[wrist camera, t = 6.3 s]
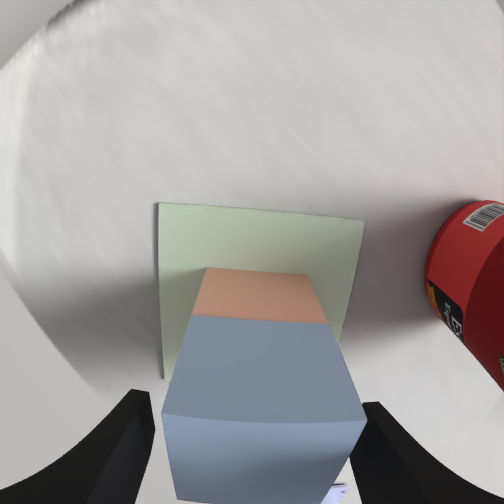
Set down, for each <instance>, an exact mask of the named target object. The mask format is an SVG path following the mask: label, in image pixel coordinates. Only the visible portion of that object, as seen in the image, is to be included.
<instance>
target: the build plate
mask: <svg viewBox="0 0 504 504" xmlns="http://www.w3.org/2000/svg"><path fill="white" fill-rule="evenodd" d="M364 225H365V221H363V220H355V219H347V218H338V217H329V216H320V215H311V214H301V213H291V212H281V211H270V210H259V209H248V208H236V207H223V206H210V205H196V204H181V203H164V202H160V203H159V217H158V267H159V302H160V323H161V340H162V354H163V366H164V377H165V382H167V383H170V381H171V378H172V374H173V371H174V368H175V365H176V361H177V358H178V355H179V352H180V348H181V345H182V342H183V339H184V336H185V332H186V329H187V326H188V323H189V320H190V317H191V314H192V312H193V309H194V306H195V303H196V300H197V297H198V294H199V291H200V287H201V284H202V281H203V278H204V275H205V272H206V269H207V267H214V268H226V269H238V270H250V271H262V272H275V273H288V274H302V275H308V276H309V279H310V281H311V283H312V286H313V288H314V291H315V293H316V295H317V298H318V300H319V302H320V305H321V307H322V309H323V312H324V314H325V317H326V319H327V322H328V324H330V326H331V329H332V331H333V334H334V336H335V339H336V341H337V343H339V339H340V335H341V331H342V328H343V324H344V320H345V316H346V312H347V307H348V303H349V299H350V295H351V290H352V286H353V281H354V277H355V272H356V267H357V262H358V258H359V252H360V247H361V242H362V237H363V231H364Z"/></svg>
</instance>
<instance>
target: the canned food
mask: <svg viewBox="0 0 504 504" xmlns="http://www.w3.org/2000/svg"><path fill="white" fill-rule="evenodd" d="M425 288H426V292H427V295H428V298H429V301H430V303H431V306H432V308H433V310H434V311H435V313H436V314H437V316H438V317H439V318H440V319H441V320H442V321H443V322H444V323H445V324H446V325H447V326H448V327H449V329H450V330H451V331H452V332H453V333H454V334H455V335H456V336H457V337H458V338H459V340H460V341H461V342H462V343H463V344H464V345H465V346H466V347H467V349H468V350H469V351H470V352H471V353H472V354H473V355H474V357H475V358H476V359H477V360H478V361H479V362H480V364H481V365H482V366H483V367H484V368H485V370H486V371H487V372H488V373H489V374H490V375H491V377H492V378H493V379H494V380H495V382H496V383H497V384H498V385H499V386H500V388H501V389H502V390H503V391H504V204H502V203H499V202H496V201H490V200H485V201H478V202H473V203H469V204H467V205H465V206H463V207H461V208H460V209H458V210H457V211H456V212H455V213H453V214H452V215H451V216H450V217H449V218H448V220H447V221H446V222H445V223H444V224H443V226H442V227H441V229H440V230H439V232H438V233H437V235H436V237H435V239H434V241H433V243H432V245H431V248H430V251H429V254H428V257H427V262H426V267H425Z"/></svg>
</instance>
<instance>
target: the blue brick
mask: <svg viewBox="0 0 504 504" xmlns="http://www.w3.org/2000/svg"><path fill="white" fill-rule="evenodd" d="M161 416H162V422H163V429H164V435H165V441H166V447H167V452H168V458H169V463H170V468H171V473H172V478H173V482H174V488H175V492H176V496H177V500H184V501H193V502H201V503H210V504H321V503H322V501H323V499H324V498H325V496H326V495H327V493H328V491H329V490H330V488H331V487H332V485H333V483H334V482H335V480H336V478H337V477H338V475H339V473H340V471H341V470H342V468H343V466H344V464H345V463H346V461H347V459H348V457H349V455H350V453H351V452H352V450H353V448H354V446H355V444H356V442H357V440H358V438H359V436H360V434H361V432H362V430H363V428H364V426H365V424H366V422H367V417H366V415H365V412H364V409H363V407H362V404H361V401H360V399H359V396H358V394H357V391H356V389H355V386H354V383H353V381H352V378H351V376H350V373H349V371H348V368H347V366H346V363H345V361H344V358H343V356H342V353H341V351H340V348H339V346H338V343H337V341H336V339H335V336H334V334H333V331H332V329H331V326H330V324H320V323H297V322H279V321H263V320H249V319H236V318H224V317H212V316H202V315H192V314H191V317H190V320H189V323H188V326H187V329H186V332H185V336H184V339H183V342H182V345H181V348H180V352H179V355H178V358H177V361H176V365H175V368H174V371H173V374H172V378H171V381H170V384H169V388H168V391H167V395H166V398H165V401H164V405H163V408H162V412H161Z"/></svg>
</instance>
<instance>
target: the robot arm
mask: <svg viewBox="0 0 504 504" xmlns="http://www.w3.org/2000/svg"><path fill="white" fill-rule="evenodd" d="M362 407H363V409H364V412H365V415H366V417H367V422H366V424H365V426H364V428H363V430H362V432H361V434H360V436H359V438H358V440H357V442H356V444H355V446H354V448H353V450H352V452H351V453H350V455H349V457H350V463H351V466H352V470H353V473H354V477H355V480H356V484H357V487H358V491H359V494H360V498H361V501H362V504H504V498H502V497H499V496H497V495H494V494H492V493H489V492H487V491H485V490H483V489H481V488H479V487H477V486H475V485H473V484H472V483H470V482H468V481H466V480H464V479H463V478H461V477H460V476H458V475H457V474H455V473H454V472H453V471H451V470H450V469H448V468H447V467H446V466H444V465H443V464H442V463H440V462H439V461H438V460H437V459H436V458H434V457H433V456H432V455H431V454H430V453H429V452H428V451H426V450H425V449H424V448H423V447H422V446H421V445H420V444H419V443H418V442H417V441H416V440H415V439H414V438H413V437H412V436H411V435H410V434H409V433H408V432H407V431H406V430H405V429H404V428H403V427H402V426H401V425H400V424H399V423H398V422H397V421H396V419H395V418H394V417H393V416H392V415H391V414H390V413H389V412H388V411H387V410H386V409H385V408H384V407H383V406H382V405H381V404H380V402H379V401H378V402H365V403H363V404H362ZM154 434H155V425H154V419H153V413H152V407H151V401H150V395H149V392H146V391H141V390H135V389H131V390H130V391H129V392H128V393H127V394H126V395H125V396H124V397H123V399H122V400H121V401H120V402H119V403H118V404H117V405H116V406H115V408H114V409H113V410H112V411H111V412H110V413H109V414H108V415H107V416H106V417H105V418H104V419H103V420H102V421H101V422H100V423H99V424H98V425H97V426H96V427H95V428H94V429H93V430H92V431H91V432H90V433H89V434H88V435H87V436H86V437H85V438H83V439H82V440H81V441H80V442H79V443H78V444H77V445H76V446H74V447H73V448H72V449H71V450H69V451H68V452H67V453H66V454H64V455H63V456H62V457H60V458H59V459H58V460H56V461H55V462H53V463H52V464H50V465H49V466H47V467H45V468H44V469H42V470H41V471H39V472H37V473H36V474H34V475H32V476H30V477H28V478H27V479H24V480H22V481H20V482H18V483H16V484H13V485H11V486H9V487H7V488H4V489H1V490H0V504H135V501H136V498H137V495H138V492H139V488H140V485H141V482H142V479H143V476H144V473H145V470H146V467H147V464H148V460H149V457H150V454H151V450H152V445H153V439H154ZM348 489H349V486H348V485H336V486H332V487H331V488H330V490H329V491H328V493H327V495H326V496H325V498H324V499H323V501H322V503H321V504H338V503H339V502H340V501H341V499H342V498H343V496H344V495H345V494H346V492H347V491H348Z"/></svg>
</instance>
